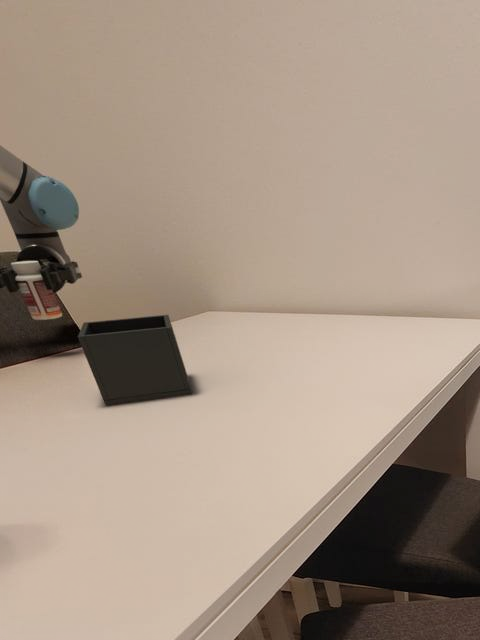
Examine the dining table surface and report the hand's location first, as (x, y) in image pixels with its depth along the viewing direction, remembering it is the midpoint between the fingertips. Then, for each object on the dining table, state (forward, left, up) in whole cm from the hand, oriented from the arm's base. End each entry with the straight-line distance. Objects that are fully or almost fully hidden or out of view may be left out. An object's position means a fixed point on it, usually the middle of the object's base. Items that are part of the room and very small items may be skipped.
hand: (27, 281), depth 97 cm
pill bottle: (0, +5, -6) cm, 8 cm away
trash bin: (+14, -30, -12) cm, 35 cm away
